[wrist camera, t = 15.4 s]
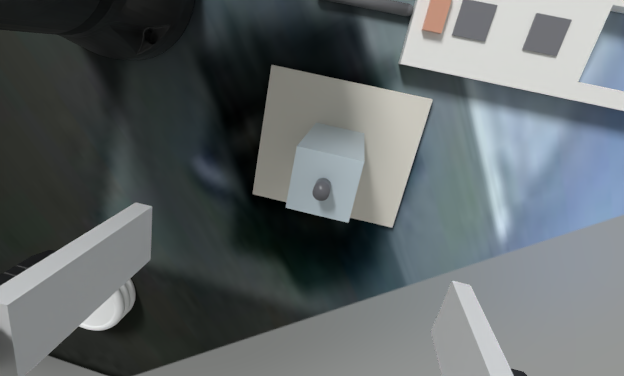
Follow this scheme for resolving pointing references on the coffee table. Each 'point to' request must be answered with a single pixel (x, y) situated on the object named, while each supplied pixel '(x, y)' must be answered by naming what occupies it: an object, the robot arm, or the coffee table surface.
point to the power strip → (508, 42)
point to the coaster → (112, 309)
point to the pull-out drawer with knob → (327, 172)
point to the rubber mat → (348, 115)
